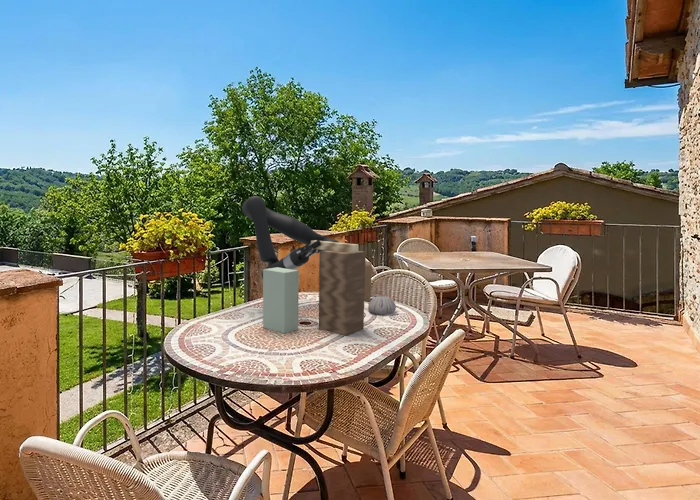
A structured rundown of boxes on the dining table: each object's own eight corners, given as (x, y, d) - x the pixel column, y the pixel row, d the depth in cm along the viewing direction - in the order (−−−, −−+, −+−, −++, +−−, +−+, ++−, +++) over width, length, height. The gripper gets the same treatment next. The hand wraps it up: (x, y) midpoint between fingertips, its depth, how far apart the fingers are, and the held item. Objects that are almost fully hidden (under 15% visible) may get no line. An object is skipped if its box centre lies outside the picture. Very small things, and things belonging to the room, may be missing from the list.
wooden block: (370, 298, 240) (371, 261, 238) (369, 302, 230) (370, 264, 228) (352, 297, 241) (353, 260, 239) (350, 301, 231) (351, 263, 229)
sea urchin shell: (401, 313, 209) (402, 296, 208) (382, 318, 200) (382, 300, 199) (381, 307, 219) (381, 292, 218) (361, 312, 210) (362, 295, 209)
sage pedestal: (263, 327, 180) (263, 269, 178) (277, 323, 187) (277, 267, 184) (284, 333, 173) (284, 272, 171) (298, 328, 180) (298, 270, 177)
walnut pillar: (318, 329, 180) (319, 251, 176) (336, 323, 190) (338, 248, 186) (346, 336, 172) (347, 254, 168) (363, 329, 181) (365, 251, 178)
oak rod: (310, 248, 185) (310, 240, 185) (315, 247, 188) (315, 240, 187) (353, 253, 172) (353, 245, 172) (358, 252, 175) (358, 244, 174)
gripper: (281, 252, 188) (308, 234, 178) (303, 250, 199) (329, 232, 189) (287, 268, 186) (314, 251, 177) (309, 265, 198) (336, 248, 188)
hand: (322, 241), depth 183 cm, fingers closed on oak rod, 3 cm apart
